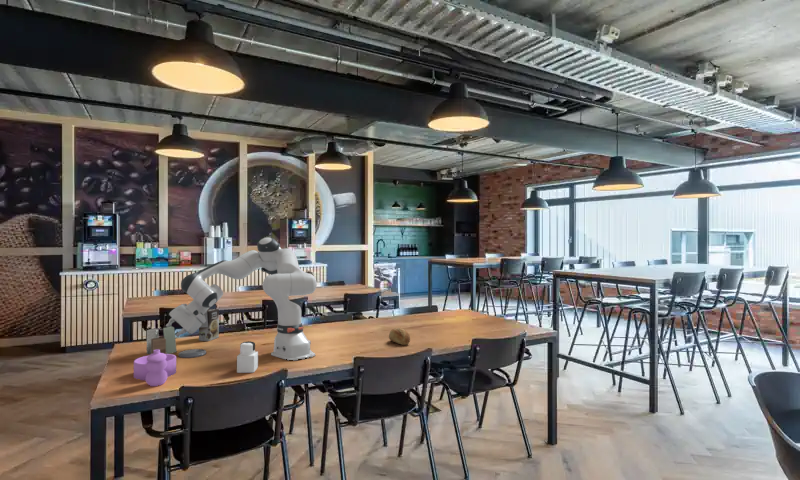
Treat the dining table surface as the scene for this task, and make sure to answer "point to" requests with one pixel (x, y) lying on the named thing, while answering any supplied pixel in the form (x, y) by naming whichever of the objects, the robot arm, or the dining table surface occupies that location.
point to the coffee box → (210, 326)
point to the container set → (155, 368)
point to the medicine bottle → (247, 358)
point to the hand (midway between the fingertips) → (171, 331)
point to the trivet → (192, 353)
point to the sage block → (170, 339)
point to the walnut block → (158, 345)
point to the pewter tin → (150, 335)
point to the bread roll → (399, 336)
